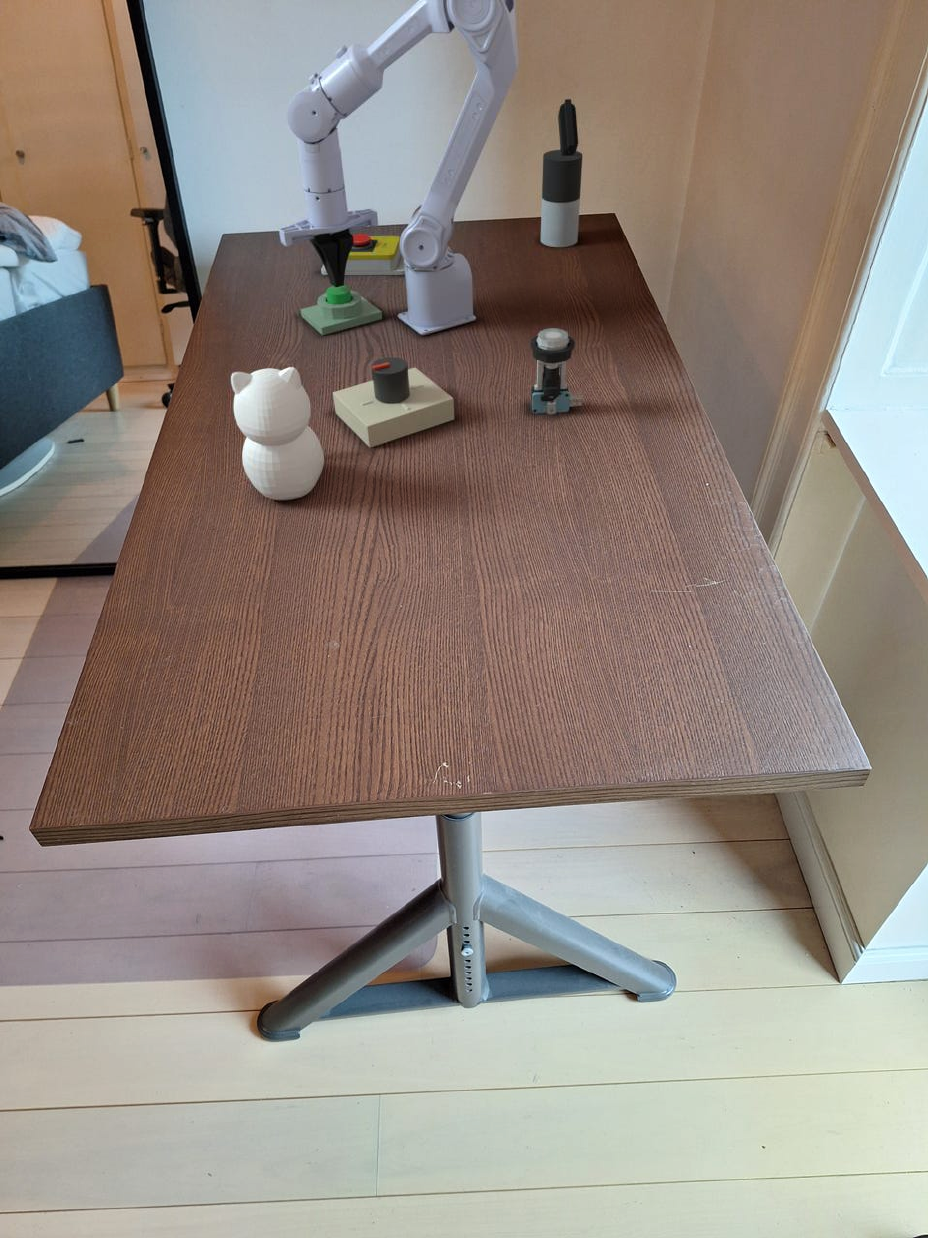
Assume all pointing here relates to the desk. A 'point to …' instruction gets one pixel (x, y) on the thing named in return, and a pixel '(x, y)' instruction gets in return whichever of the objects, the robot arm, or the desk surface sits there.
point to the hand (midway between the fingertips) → (337, 284)
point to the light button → (338, 295)
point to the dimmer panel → (393, 410)
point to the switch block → (340, 314)
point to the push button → (552, 372)
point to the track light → (562, 184)
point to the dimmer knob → (390, 380)
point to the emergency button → (374, 256)
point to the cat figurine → (277, 433)
